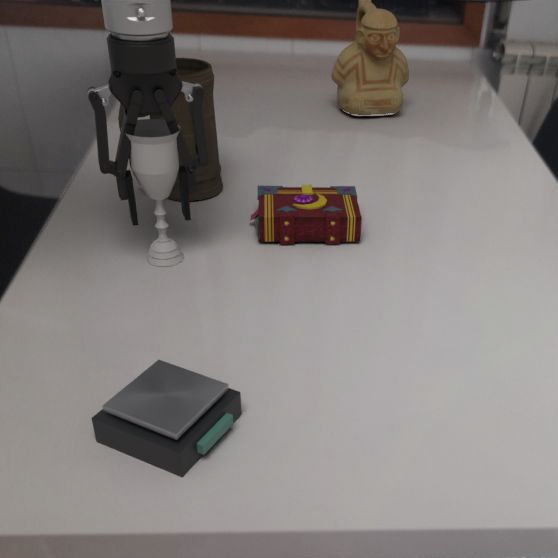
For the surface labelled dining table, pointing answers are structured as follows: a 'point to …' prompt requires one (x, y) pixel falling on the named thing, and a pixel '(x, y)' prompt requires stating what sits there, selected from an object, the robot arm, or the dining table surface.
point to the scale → (165, 449)
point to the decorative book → (308, 214)
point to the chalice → (156, 180)
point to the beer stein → (205, 175)
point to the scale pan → (166, 399)
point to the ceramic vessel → (371, 65)
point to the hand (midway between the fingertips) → (160, 218)
